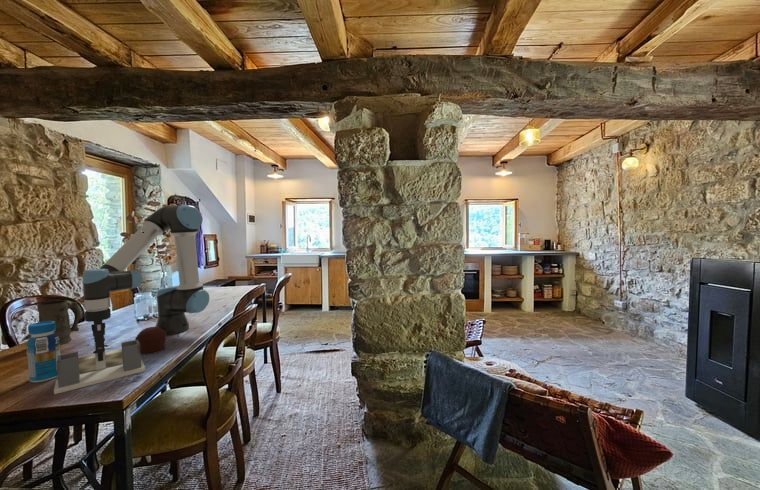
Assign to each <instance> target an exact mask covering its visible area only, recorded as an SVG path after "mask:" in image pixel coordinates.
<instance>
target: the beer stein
mask: <svg viewBox="0 0 760 490" xmlns="http://www.w3.org/2000/svg"><path fill="white" fill-rule="evenodd" d="M36 309H37V311H38V322H44V321H55V323H56V329H55V331H53V332H54V333H56V334H57V335H58V337H59V339H60V340H59V344H60V346H61V345H64V344H67V343H70V342H71V341H72V338H71V333H73V332H79V330H80V328H79V327H78V324H79V321H80V320H81V314H82V313H81V310H80V307H79V304H78V301H73V302H71V303H69V304H68V301H67V300H51V301H45V302H40V303H38V304H37V308H36ZM69 309H73V310H74V311H73V312H74V319H73V323H72V326H71V325H70V324H71V323H70V314H69Z"/></svg>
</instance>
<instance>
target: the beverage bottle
mask: <svg viewBox="0 0 760 490" xmlns="http://www.w3.org/2000/svg"><path fill="white" fill-rule="evenodd" d="M27 329H28V330H27V331H28V332H27V333H28V335H29V336H30V337H29V338H28V340H27V342H26V344H25V345H26V348H27V349H26V352H25V353H26V356H27V364H28V365H27V366H28V367H27V368H28V381H29V382H30V383H43V382H47V381H50V380H53V379H56V378H58V373H57V358H58V355H61V345H60V344H59V340H60V339H59V337H58V335H57V334H56V333H54V332H53V331H55V329H56V323H55V321H44V322H39V321H38V322H34V323H30V324H29V325H28V327H27Z"/></svg>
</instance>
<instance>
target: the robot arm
mask: <svg viewBox="0 0 760 490" xmlns="http://www.w3.org/2000/svg"><path fill="white" fill-rule="evenodd" d="M202 224H203V215H202V213H201V212H200V210H199V209H198V208H197V207H195V206H193V205H189V204H187V205H186V204H181V205H165V206H162V207H160V208H158V209H156V210H155V211H154V212H153V213H151V214H150V215H149V216H148V217H147V218H146V219H144V220H143V221H142V226H141V227H140V228H139V229H138V230H137V231H136V232H135V233H134V234H133V235H132V236H131V237H130V238H129V239H127V240H126V242H125V243H123V245H121V247H120V248H119V249H118V250H117V251H116V252H115V253H114V254H113V255H111V257H110V258H108V260H107V261H105V262H104V264H103V265H102V266H101V267H99V268H93V269H87V270H84V271H83V272H82V281H81V282H82V291H83V301H82V302H81V305H82V306H83V307H84V310H85V311H84V321H85V322H87V323H90V322H91V323H92V322H93V324H91V326H90V327H91V332H92V337H93V342H94V347H93V348H94V349H93V351H92V355H95V358H96V370H95V371H97V370H101V369H105V368H107V367H106V362H105V352H106V347H105V341H106V338H105V335H106V330H105V329H106V323H105V322H103V321H104V320H105V321H106V320H108V319H109V320H110V318H111V317H112V315H111V292H117V291H122V290H123V291H124V290H130V289H136V288H139V287H140V286H141V285H142V283H143V275H142V273H141V272H140V271H139V270H136V269H135V270H133V269H132V270H131V269H130V270H127V269H128V268H129V267H130V266H131V264H132V263H134V261H136V259H138V257H139V256H140V255H141V254H142V253H143V252H144V251H145V250H146V249H147V247H149V246H150V244H152V242H153V241H155V239H157V237H158V236H162V235H164V233H165V232H167V231H168V230H170V234H171V235H172V236H173V237H174V241H175V253H176V260H177V261H176V262H177V263H176V264H177V272H178V280H179V284H178V285H174V286H168V287H163V288H158V290H157V291H156V305H157V321H156V324H155V326H154V327H159V328H161V329H163V330H164V331H165V332H166V333H167V334H166V336H169V335H175V334H179V333H183V332H185V331H187V330H189V329H190V323H189V320H188V318H187V316H186V313H187V314H198V313H201V312H203V311H204V310H206V308H207V307H208V305H209V303H210V294H209V292H208V291H207V290H205V289H204V284H203V283H202V282H200V276H199V265H198V254H197V245H196V244H197V243H196V234H197V233H198V232H199V229H198V228H200V227H201V225H202ZM142 229H143V230H142ZM141 230H142V232H144V233H142V232H141Z"/></svg>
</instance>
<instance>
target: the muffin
mask: <svg viewBox="0 0 760 490" xmlns="http://www.w3.org/2000/svg"><path fill="white" fill-rule="evenodd" d="M166 334H167V333H166V332H165V331H164V330H163V329H161V328H159V327H155V326H149V327H146V328H143V329H142V330H140V331H139V332H138V334H137V335H136V337H135V339H134V340H138V341H139V343H140V351H141V355H144V354H145V355H152V354H156V353H159V352H161V351H163V350H165V345H166V344H165V343H166V337H167V335H166Z"/></svg>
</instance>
